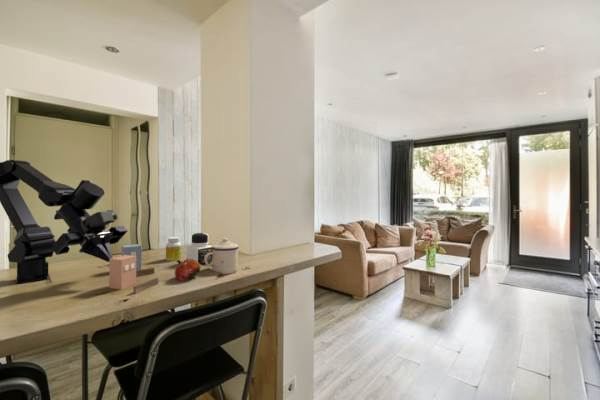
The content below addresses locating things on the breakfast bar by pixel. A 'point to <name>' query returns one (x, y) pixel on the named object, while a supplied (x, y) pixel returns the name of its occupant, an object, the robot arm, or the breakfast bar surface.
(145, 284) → the plinth
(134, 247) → the blue block
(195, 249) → the medicine bottle
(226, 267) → the teacup with lid
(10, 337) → the breakfast bar surface
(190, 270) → the pomegranate
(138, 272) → the plinth
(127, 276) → the pink box
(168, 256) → the supplement bottle
